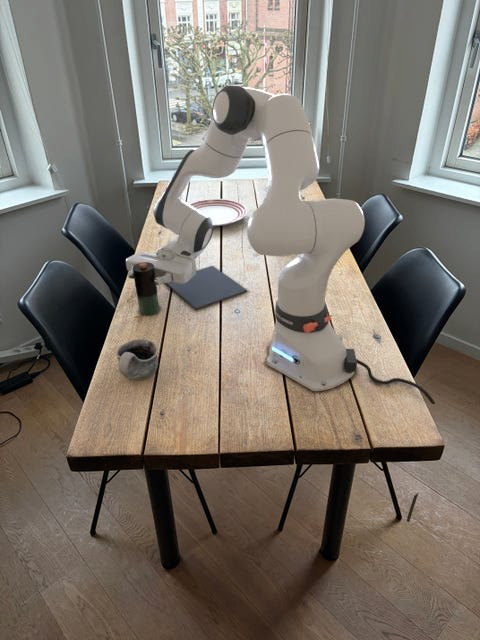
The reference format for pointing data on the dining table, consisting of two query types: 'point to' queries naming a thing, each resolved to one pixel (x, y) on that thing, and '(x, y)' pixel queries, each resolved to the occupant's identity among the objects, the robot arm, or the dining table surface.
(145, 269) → the black canister with knob
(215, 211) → the dinner plate
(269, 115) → the robot arm
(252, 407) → the dining table surface
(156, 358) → the mug
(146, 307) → the glass
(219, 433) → the dining table surface
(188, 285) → the mat
